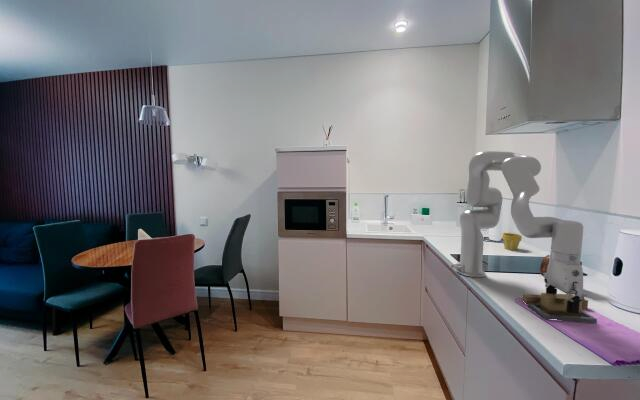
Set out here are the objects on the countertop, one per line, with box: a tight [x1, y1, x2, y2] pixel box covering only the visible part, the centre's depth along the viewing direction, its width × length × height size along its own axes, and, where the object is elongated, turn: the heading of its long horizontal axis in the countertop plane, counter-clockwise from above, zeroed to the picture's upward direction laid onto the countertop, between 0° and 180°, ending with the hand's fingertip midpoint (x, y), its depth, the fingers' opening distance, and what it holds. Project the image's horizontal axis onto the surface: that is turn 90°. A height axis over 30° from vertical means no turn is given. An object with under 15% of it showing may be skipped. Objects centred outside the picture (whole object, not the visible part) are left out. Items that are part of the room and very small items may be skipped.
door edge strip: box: [521, 293, 589, 309], centre depth 97 cm, size 20×2×3 cm, turn 82°
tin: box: [539, 254, 550, 275], centre depth 130 cm, size 15×3×8 cm, turn 127°
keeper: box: [527, 303, 598, 324], centre depth 91 cm, size 15×9×2 cm, turn 82°
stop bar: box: [540, 292, 583, 317], centre depth 91 cm, size 4×10×6 cm, turn 82°
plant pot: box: [501, 232, 523, 251], centre depth 174 cm, size 10×10×10 cm
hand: (561, 305), depth 90 cm, fingers open, 9 cm apart
